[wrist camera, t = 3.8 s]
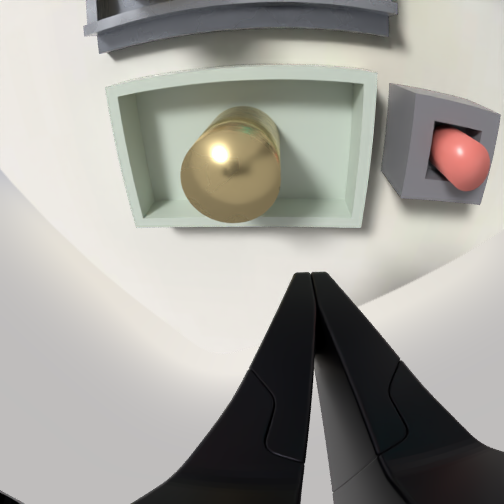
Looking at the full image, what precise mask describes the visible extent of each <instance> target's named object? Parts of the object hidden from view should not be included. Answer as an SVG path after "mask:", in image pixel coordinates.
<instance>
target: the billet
mask: <svg viewBox="0 0 504 504" xmlns="http://www.w3.org/2000/svg"><path fill="white" fill-rule="evenodd" d="M180 178H181V185H182V189H183V191H184V194H185V196H186V197H187V199H188V201H189V202H190V203H191V204H192V206H193V207H194V208H195V209H197V210H198V211H199V212H200V213H202V214H203V215H205V216H207V217H208V218H211V219H213V220H216V221H219V222H224V223H242V222H247V221H250V220H253V219H255V218H257V217H259V216H261V215H262V214H264V213H265V212H266V211H267V210H268V209H269V208H270V207H271V206H272V205H273V203H274V202H275V200H276V198H277V196H278V194H279V190H280V185H281V163H280V136H279V131H278V129H277V126H276V124H275V123H274V121H273V120H272V119H271V118H270V117H269V116H268V115H267V114H266V113H264V112H263V111H261V110H259V109H257V108H254V107H249V106H236V107H232V108H229V109H227V110H225V111H223V112H222V113H220V114H219V115H218V116H217V117H216V118H215V119H214V120H213V122H212V123H211V124H210V125H209V126H208V127H207V129H206V130H205V131H204V132H203V133H202V135H201V136H200V137H199V138H198V139H197V141H196V142H195V143H194V144H193V146H192V147H191V148H190V149H189V151H188V152H187V154H186V155H185V157H184V159H183V162H182V166H181V172H180Z"/></svg>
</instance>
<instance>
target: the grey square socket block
mask: <svg viewBox="0 0 504 504" xmlns="http://www.w3.org/2000/svg"><path fill="white" fill-rule="evenodd" d="M500 116H501V115H500V114H498V113H496V112H494V111H492V110H490V109H488V108H485V107H483V106H481V105H479V104H477V103H474V102H472V101H470V100H467V99H464V98H460V97H456V96H452V95H448V94H444V93H440V92H435V91H430V90H426V89H421V88H416V87H410V86H404V85H398V84H392V83H390V84H389V100H388V113H387V124H386V134H385V143H384V151H383V159H382V167H381V171H382V172H383V174H384V175H385V176H386V178H387V179H388V181H389V182H390V183H391V185H392V186H393V188H394V189H395V190H396V192H397V193H398V195H399V196H400V198H407V199H421V200H434V201H446V202H457V203H468V204H477V205H480V203H481V200H482V197H483V193H484V190H485V186H486V183H487V179H488V175H489V172H488V175H487V177H486V179H485V180H484V182H483V183H482V184H481V185H480V186H479V187H478V188H476V189H474V190H471V191H462V190H459V189H457V188H456V187H455V186H454V185H453V184H452V183H451V182H450V181H449V180H448V179H447V178H446V177H445V176H444V175H443V174H442V173H441V172H440V171H439V170H438V169H437V168H436V167H435V166H434V165H432V164H431V163H430V161H429V155H430V149H431V143H432V136H433V130H434V128H436V127H438V126H440V125H445V124H446V125H451V126H453V127H455V128H457V129H458V130H460V131H462V132H463V133H465V134H466V135H468V136H470V137H471V138H473V139H474V140H476V141H477V142H479V143H480V144H482V145H483V146H484V147H485V148H486V150H487V152H488V154H489V158H490V167H491V163H492V159H493V154H494V149H495V145H496V140H497V134H498V129H499V123H500ZM489 171H490V168H489Z"/></svg>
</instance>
